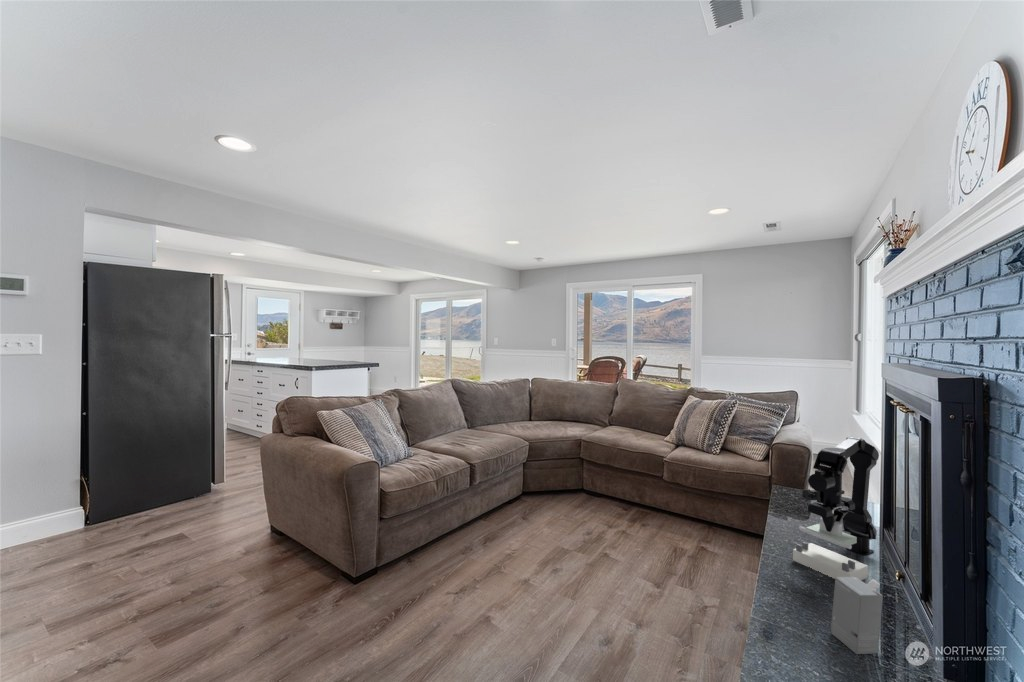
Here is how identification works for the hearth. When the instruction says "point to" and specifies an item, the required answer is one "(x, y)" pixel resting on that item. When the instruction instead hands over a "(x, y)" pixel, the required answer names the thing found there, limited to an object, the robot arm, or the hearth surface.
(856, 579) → the skincare box
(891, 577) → the hearth surface
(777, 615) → the hearth surface
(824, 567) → the white box base
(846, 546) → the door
